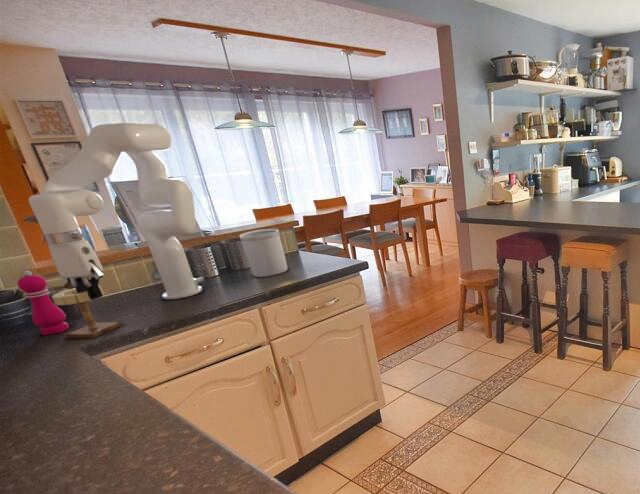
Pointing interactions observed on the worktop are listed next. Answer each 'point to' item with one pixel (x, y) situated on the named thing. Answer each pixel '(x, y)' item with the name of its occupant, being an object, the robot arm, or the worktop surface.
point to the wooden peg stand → (91, 324)
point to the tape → (71, 297)
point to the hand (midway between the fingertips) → (91, 297)
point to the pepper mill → (42, 305)
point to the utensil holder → (264, 252)
